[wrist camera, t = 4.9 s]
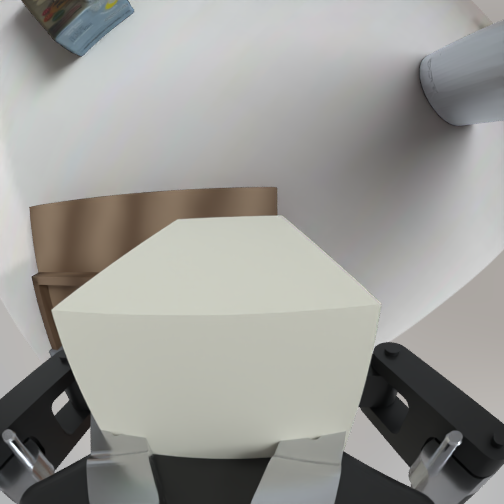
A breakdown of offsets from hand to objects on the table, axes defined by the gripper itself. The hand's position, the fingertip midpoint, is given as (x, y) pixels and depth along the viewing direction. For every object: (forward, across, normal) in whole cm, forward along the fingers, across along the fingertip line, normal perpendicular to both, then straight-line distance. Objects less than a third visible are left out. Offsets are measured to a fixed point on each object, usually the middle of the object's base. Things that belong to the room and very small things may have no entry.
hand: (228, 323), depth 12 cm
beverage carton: (+13, +18, -31) cm, 38 cm away
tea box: (+2, 0, 0) cm, 2 cm away
